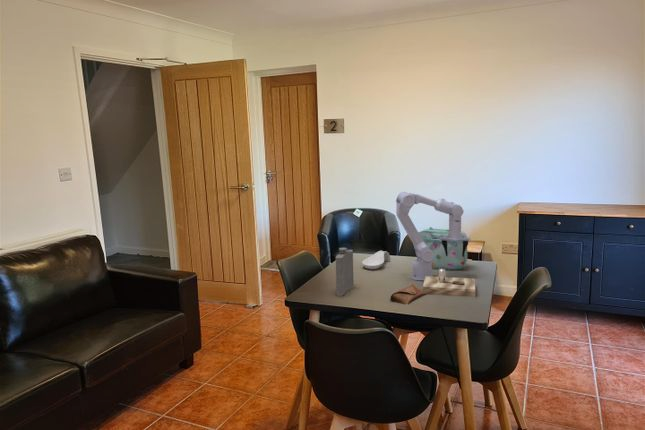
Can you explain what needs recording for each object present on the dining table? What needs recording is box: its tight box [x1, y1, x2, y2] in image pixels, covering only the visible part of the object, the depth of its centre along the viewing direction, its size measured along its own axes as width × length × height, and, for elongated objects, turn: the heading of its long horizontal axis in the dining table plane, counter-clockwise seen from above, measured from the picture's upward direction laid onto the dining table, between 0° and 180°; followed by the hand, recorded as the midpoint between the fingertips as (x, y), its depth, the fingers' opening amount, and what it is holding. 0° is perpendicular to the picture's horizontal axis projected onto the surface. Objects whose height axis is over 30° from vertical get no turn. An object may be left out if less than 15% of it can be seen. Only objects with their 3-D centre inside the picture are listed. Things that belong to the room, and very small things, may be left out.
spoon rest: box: [361, 250, 392, 270], centre depth 249 cm, size 24×12×7 cm, turn 148°
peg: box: [438, 268, 446, 283], centre depth 205 cm, size 4×4×9 cm
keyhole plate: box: [422, 276, 476, 298], centre depth 205 cm, size 22×16×3 cm
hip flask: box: [335, 247, 355, 297], centre depth 207 cm, size 16×4×20 cm, turn 156°
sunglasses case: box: [390, 283, 428, 305], centre depth 197 cm, size 18×7×7 cm, turn 140°
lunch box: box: [414, 226, 468, 271], centre depth 240 cm, size 27×10×21 cm, turn 67°
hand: (454, 255), depth 223 cm, fingers open, 7 cm apart
